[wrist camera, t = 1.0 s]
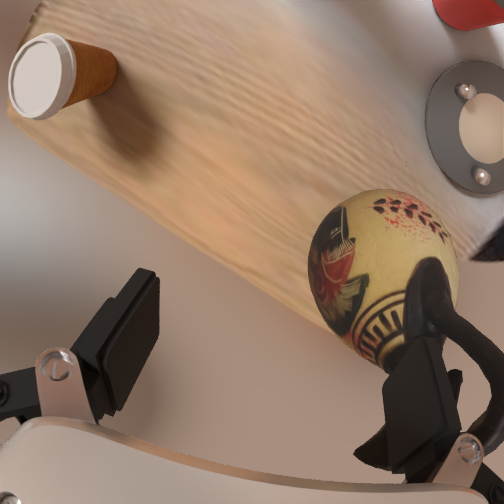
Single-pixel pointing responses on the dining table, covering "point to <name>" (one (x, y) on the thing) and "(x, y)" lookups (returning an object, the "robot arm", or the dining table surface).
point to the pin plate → (468, 125)
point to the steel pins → (470, 93)
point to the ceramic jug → (398, 297)
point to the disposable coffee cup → (57, 75)
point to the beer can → (470, 13)
